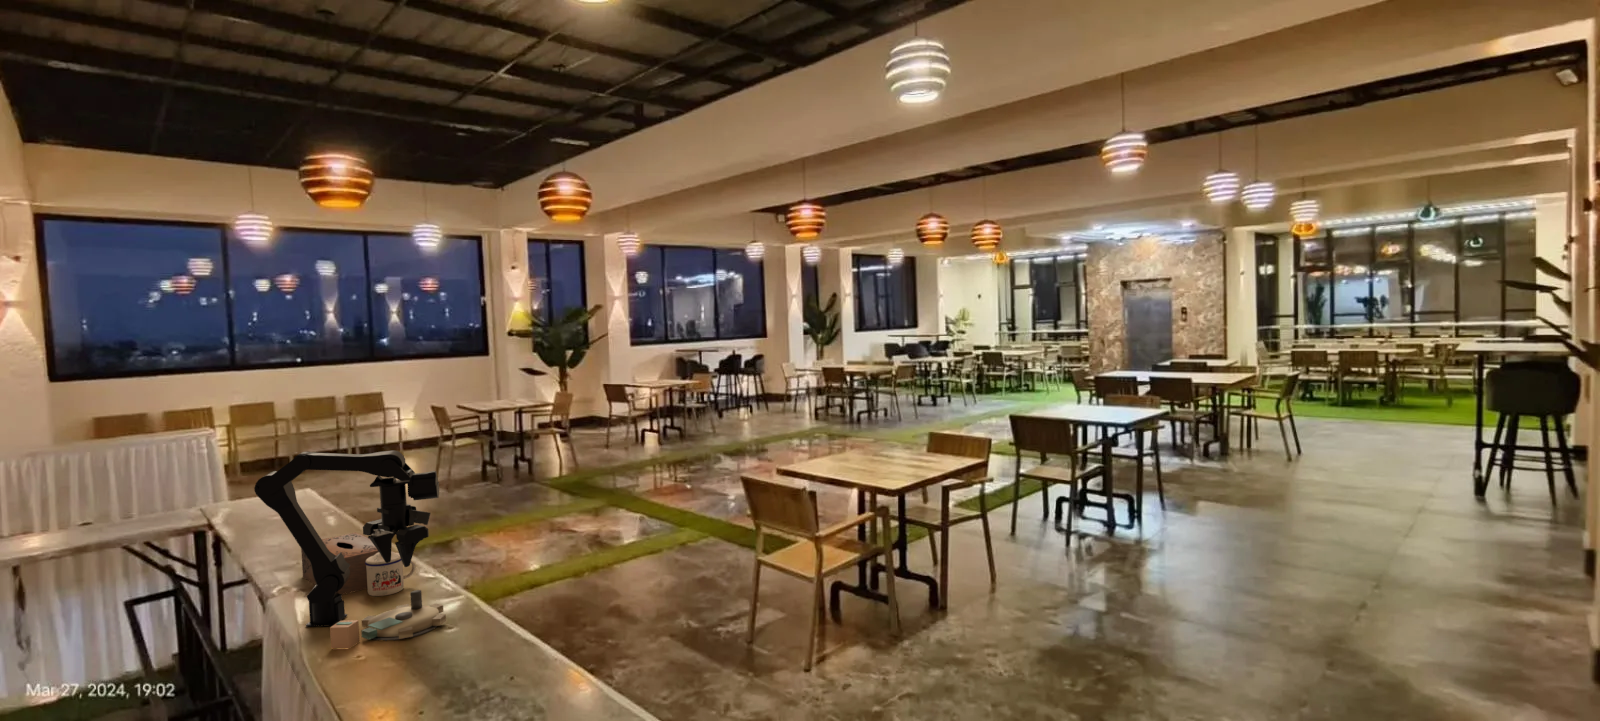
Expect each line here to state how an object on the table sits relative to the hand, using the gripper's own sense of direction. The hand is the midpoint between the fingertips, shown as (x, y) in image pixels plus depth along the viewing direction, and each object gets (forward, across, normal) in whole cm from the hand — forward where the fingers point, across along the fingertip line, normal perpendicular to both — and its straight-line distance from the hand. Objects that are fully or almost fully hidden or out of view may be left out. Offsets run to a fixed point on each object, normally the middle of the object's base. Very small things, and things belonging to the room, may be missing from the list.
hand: (397, 564), depth 192 cm
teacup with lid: (+12, +18, -9) cm, 23 cm away
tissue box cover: (+12, +38, -8) cm, 41 cm away
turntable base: (+12, -10, +5) cm, 16 cm away
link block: (+12, -8, +18) cm, 23 cm away
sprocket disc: (+12, -10, +5) cm, 16 cm away
